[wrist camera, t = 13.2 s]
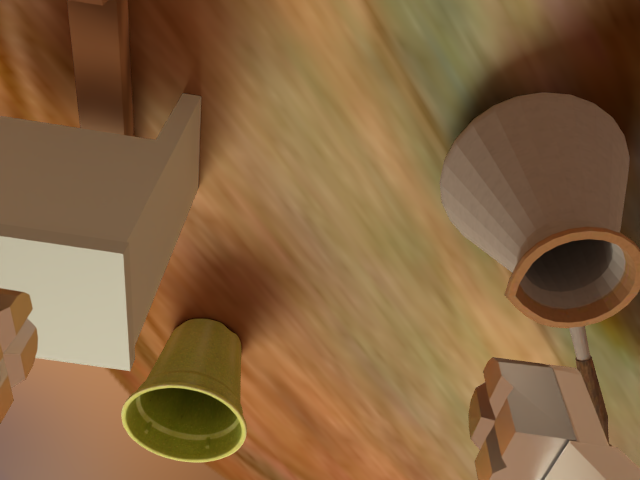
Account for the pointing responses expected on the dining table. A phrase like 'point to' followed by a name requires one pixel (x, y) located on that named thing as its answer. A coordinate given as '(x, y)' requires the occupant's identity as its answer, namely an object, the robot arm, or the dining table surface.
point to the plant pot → (191, 396)
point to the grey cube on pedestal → (93, 228)
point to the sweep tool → (102, 64)
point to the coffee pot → (549, 212)
